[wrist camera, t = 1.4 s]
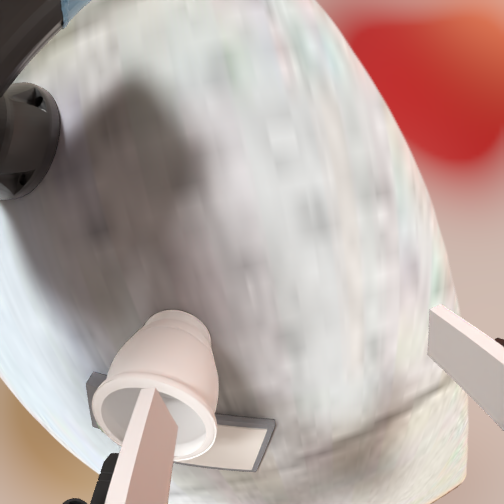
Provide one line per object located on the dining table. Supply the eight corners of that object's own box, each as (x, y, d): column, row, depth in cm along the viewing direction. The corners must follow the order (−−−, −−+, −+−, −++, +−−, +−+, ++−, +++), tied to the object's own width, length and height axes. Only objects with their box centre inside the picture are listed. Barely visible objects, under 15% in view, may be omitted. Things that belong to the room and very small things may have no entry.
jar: (131, 360, 35) (93, 442, 20) (141, 289, 33) (89, 359, 18) (210, 381, 36) (204, 471, 21) (229, 313, 34) (231, 398, 19)
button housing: (98, 414, 37) (92, 426, 34) (93, 371, 35) (85, 383, 32) (152, 428, 38) (149, 442, 35) (153, 387, 36) (149, 401, 33)
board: (161, 455, 39) (160, 461, 38) (163, 404, 37) (161, 411, 35) (255, 466, 41) (256, 473, 40) (274, 419, 38) (275, 426, 37)
